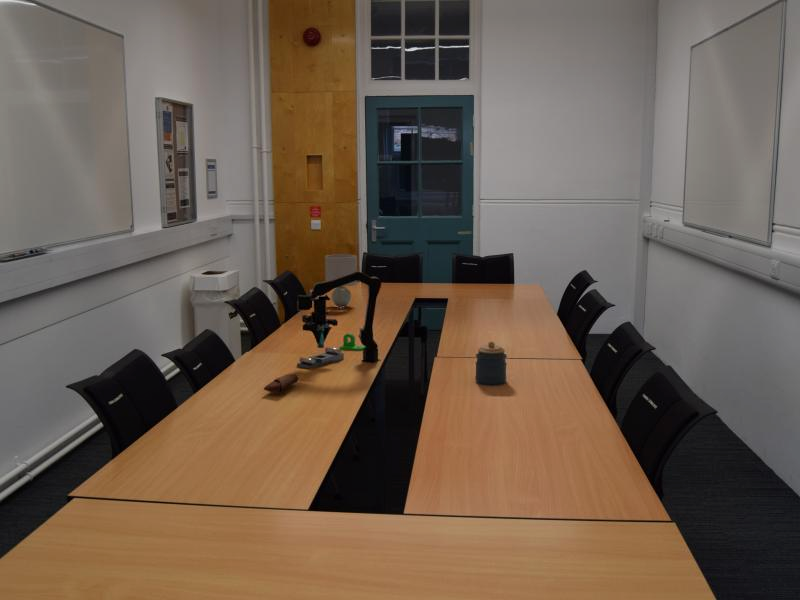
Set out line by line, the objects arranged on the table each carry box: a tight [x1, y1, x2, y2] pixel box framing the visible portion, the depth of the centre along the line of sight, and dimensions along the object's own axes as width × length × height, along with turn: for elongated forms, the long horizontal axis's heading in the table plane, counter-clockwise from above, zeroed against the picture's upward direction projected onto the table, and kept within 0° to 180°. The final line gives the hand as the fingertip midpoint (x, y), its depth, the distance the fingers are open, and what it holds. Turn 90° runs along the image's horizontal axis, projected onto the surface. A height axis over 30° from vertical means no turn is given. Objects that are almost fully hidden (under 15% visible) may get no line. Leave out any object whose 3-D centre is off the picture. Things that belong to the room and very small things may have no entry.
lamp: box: [324, 254, 358, 307], centre depth 518 cm, size 20×20×35 cm
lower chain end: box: [296, 357, 334, 370], centre depth 371 cm, size 8×16×4 cm, turn 145°
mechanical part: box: [339, 333, 365, 352], centre depth 402 cm, size 12×6×8 cm, turn 65°
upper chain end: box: [307, 346, 345, 363], centre depth 378 cm, size 8×16×5 cm, turn 145°
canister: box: [474, 341, 508, 387], centre depth 338 cm, size 13×13×18 cm
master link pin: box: [316, 327, 325, 349], centre depth 373 cm, size 4×4×9 cm
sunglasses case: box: [263, 373, 299, 395], centre depth 330 cm, size 18×7×7 cm
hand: (320, 343), depth 373 cm, fingers closed on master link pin, 3 cm apart
